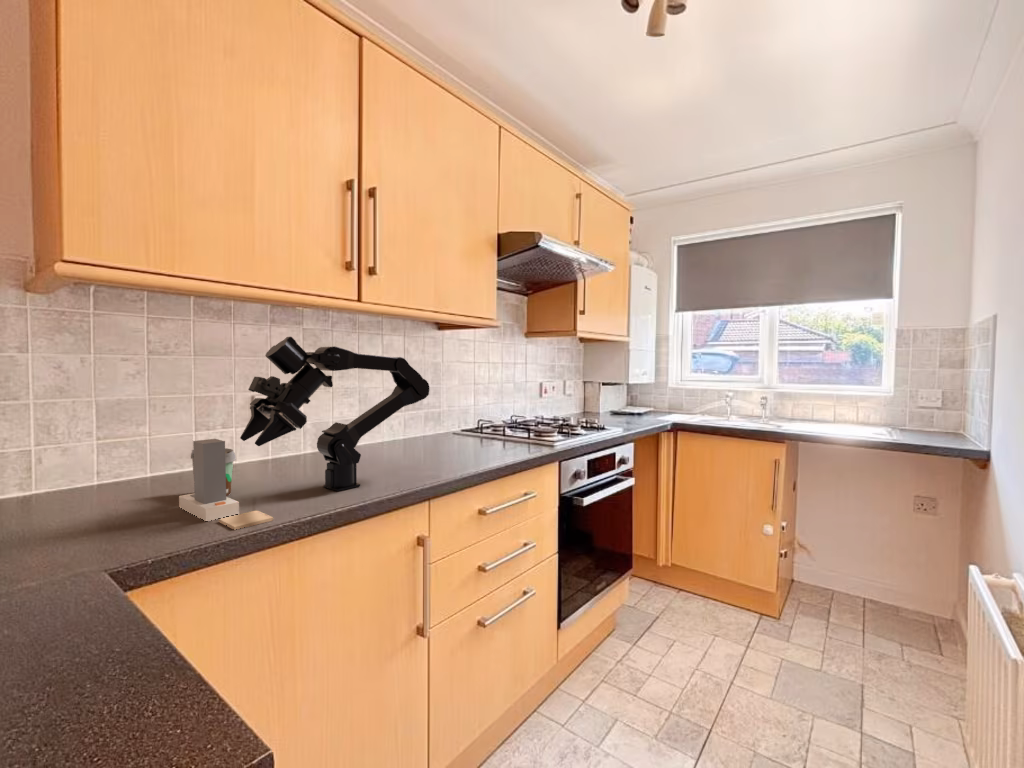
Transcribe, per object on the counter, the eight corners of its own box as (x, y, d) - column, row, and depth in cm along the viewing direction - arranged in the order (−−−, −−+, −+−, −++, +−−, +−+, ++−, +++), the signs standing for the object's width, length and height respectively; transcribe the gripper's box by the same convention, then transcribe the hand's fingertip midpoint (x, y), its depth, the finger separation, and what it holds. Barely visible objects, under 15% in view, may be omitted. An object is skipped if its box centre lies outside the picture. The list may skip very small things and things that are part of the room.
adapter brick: (216, 495, 102) (214, 438, 101) (226, 499, 99) (225, 441, 98) (194, 499, 99) (193, 441, 98) (204, 504, 96) (202, 443, 95)
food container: (248, 493, 113) (247, 450, 112) (220, 500, 107) (220, 455, 107) (218, 486, 119) (217, 445, 118) (191, 492, 114) (190, 449, 113)
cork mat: (256, 513, 98) (256, 510, 98) (273, 520, 94) (273, 517, 94) (218, 522, 93) (218, 518, 93) (234, 530, 89) (234, 526, 89)
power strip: (202, 497, 109) (201, 485, 109) (239, 514, 98) (238, 500, 98) (170, 503, 105) (170, 490, 105) (206, 521, 93) (205, 507, 93)
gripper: (258, 363, 113) (205, 414, 106) (290, 363, 100) (232, 422, 93) (293, 395, 119) (245, 445, 112) (328, 399, 106) (276, 457, 99)
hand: (249, 442), depth 104 cm, fingers open, 9 cm apart
